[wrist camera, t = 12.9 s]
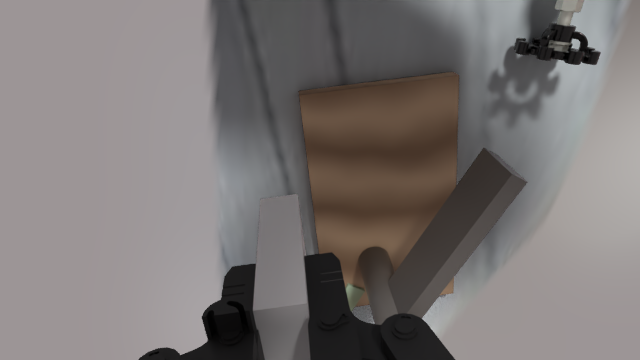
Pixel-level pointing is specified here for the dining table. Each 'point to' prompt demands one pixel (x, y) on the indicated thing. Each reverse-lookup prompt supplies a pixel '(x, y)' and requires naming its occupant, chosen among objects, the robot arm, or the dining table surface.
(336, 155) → the board
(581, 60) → the valve
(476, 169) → the dark piece
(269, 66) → the dining table surface
